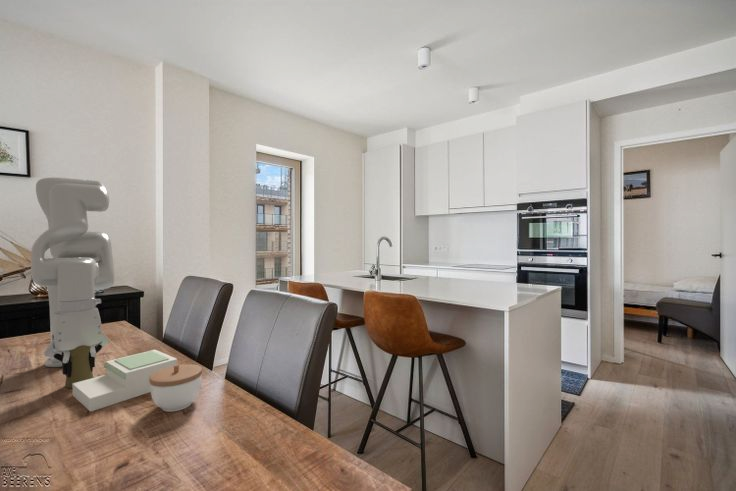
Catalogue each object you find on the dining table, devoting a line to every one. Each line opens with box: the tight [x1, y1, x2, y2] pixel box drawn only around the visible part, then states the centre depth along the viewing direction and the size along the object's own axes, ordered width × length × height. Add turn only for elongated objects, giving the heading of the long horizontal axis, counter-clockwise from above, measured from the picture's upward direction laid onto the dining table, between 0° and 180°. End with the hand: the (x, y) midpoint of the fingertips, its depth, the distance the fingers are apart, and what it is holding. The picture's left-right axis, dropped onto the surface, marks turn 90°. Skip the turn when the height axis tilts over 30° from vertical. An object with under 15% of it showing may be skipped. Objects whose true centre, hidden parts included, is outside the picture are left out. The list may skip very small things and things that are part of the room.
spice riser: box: [72, 349, 179, 412], centre depth 90 cm, size 14×19×7 cm
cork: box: [64, 345, 95, 389], centre depth 94 cm, size 6×6×11 cm
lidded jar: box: [149, 363, 203, 413], centre depth 81 cm, size 11×11×9 cm
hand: (79, 372), depth 94 cm, fingers closed on cork, 3 cm apart
